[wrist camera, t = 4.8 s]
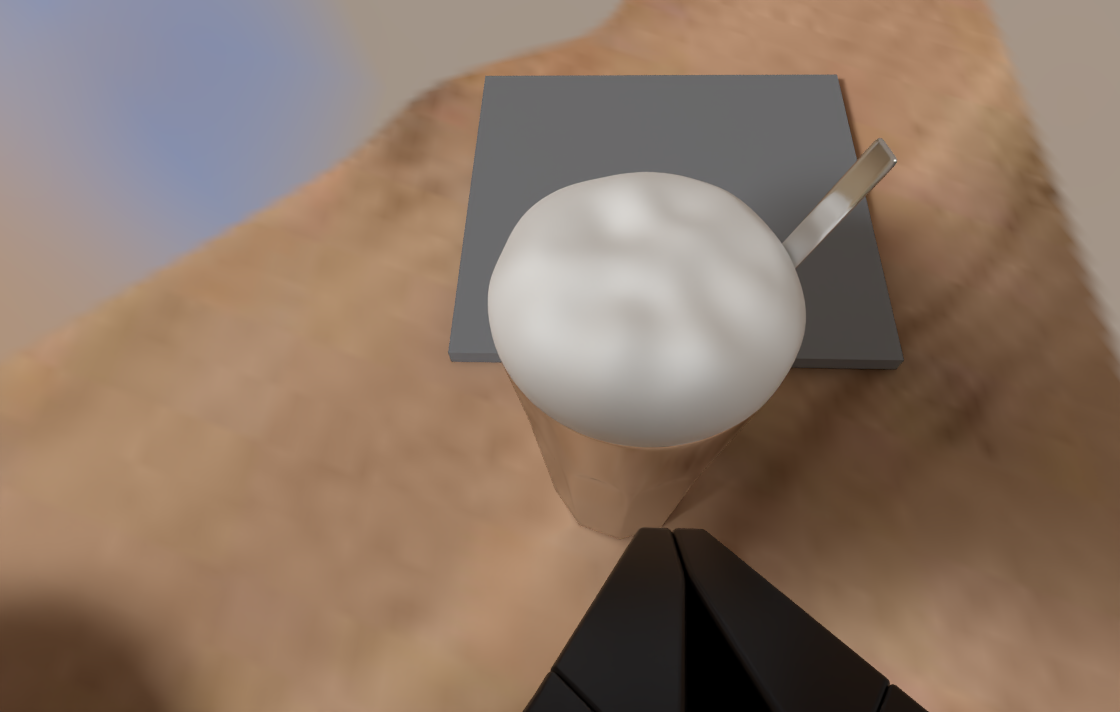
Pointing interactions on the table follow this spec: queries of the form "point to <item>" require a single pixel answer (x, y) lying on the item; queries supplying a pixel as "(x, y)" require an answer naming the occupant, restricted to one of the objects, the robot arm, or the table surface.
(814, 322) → the mat
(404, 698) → the table surface
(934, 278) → the table surface
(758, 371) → the milkshake
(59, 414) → the table surface
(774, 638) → the robot arm
